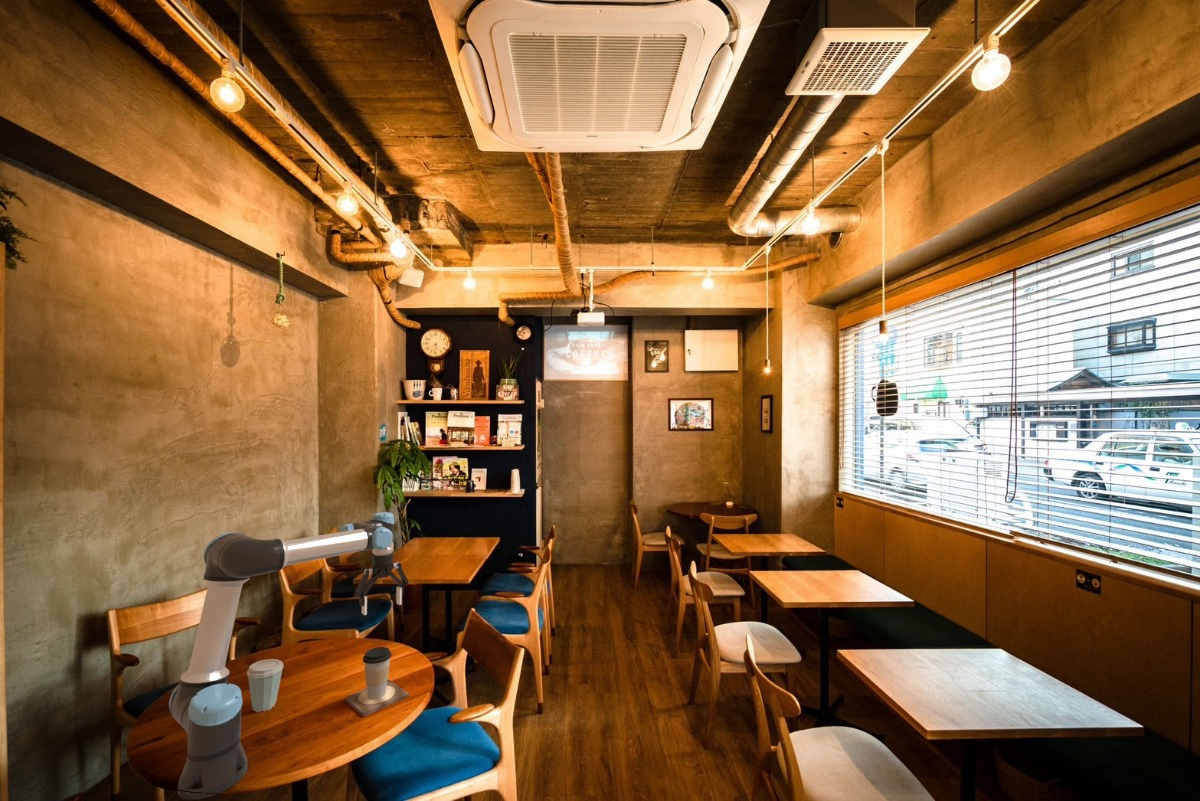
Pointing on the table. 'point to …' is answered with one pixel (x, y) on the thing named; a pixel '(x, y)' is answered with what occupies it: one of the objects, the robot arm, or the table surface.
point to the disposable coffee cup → (264, 683)
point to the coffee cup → (377, 671)
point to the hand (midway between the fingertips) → (382, 608)
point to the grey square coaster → (372, 705)
